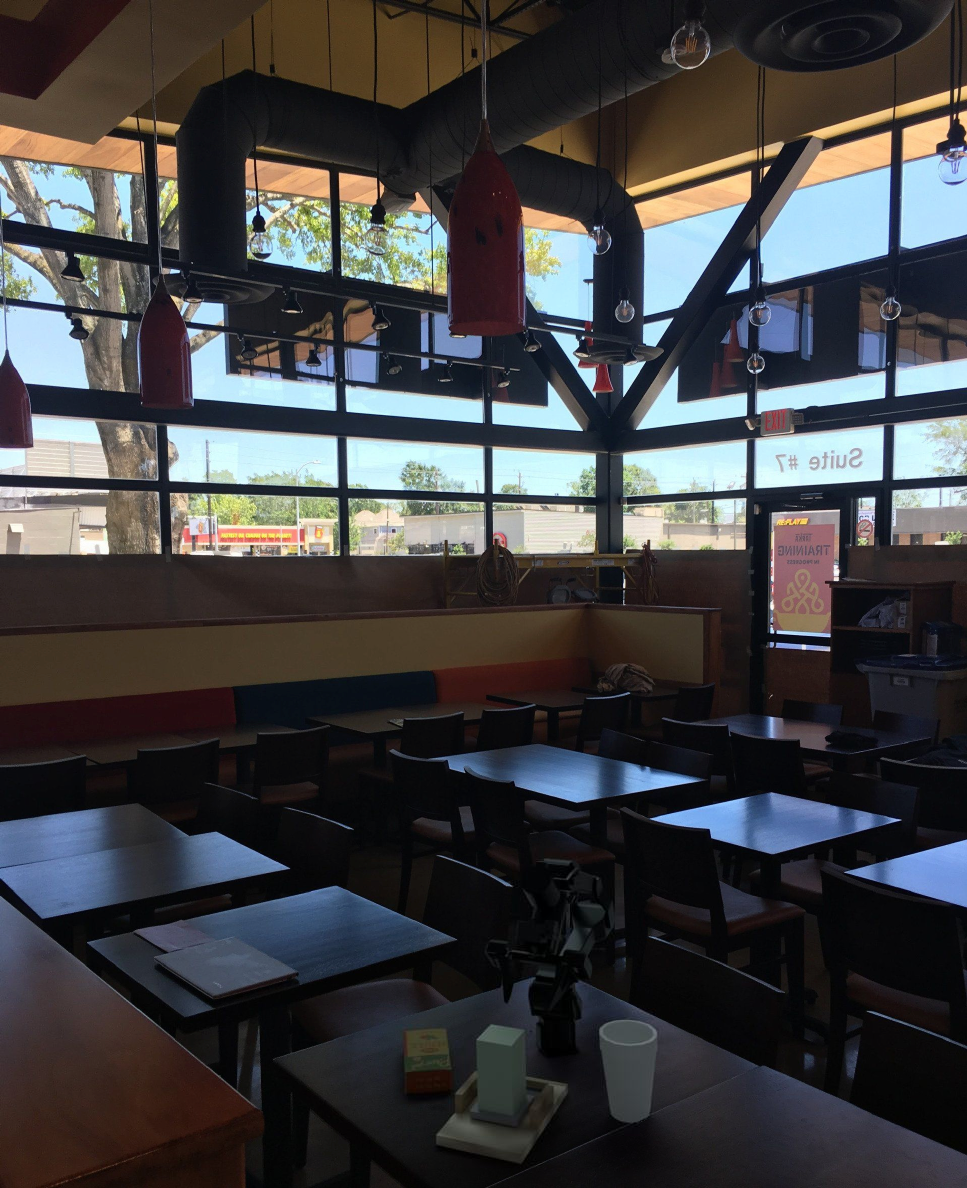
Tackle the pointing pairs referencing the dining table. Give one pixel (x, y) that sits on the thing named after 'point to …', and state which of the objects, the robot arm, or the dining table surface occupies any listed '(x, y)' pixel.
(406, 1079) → the carton
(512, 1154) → the track
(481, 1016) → the dining table surface
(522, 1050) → the tall sage green block
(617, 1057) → the foam cup
